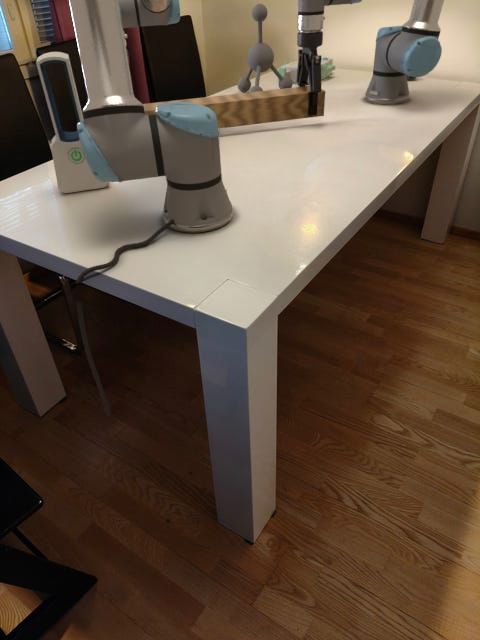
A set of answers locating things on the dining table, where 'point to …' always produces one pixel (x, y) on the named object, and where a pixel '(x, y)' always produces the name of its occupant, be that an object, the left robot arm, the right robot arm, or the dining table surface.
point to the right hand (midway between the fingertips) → (307, 111)
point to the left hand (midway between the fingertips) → (129, 132)
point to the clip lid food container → (291, 72)
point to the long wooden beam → (256, 106)
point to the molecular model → (261, 58)
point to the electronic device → (66, 134)
